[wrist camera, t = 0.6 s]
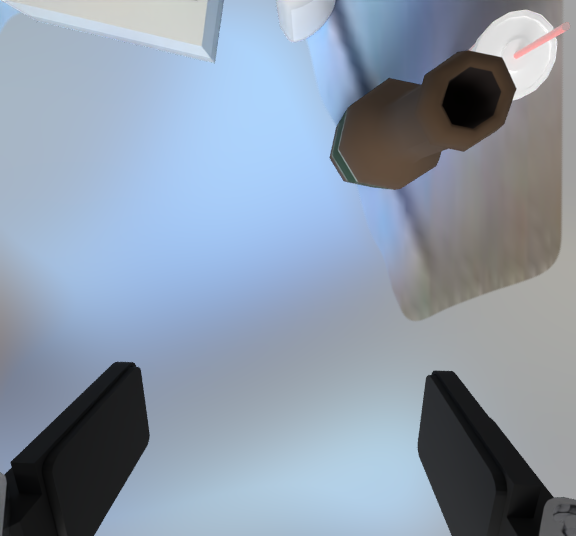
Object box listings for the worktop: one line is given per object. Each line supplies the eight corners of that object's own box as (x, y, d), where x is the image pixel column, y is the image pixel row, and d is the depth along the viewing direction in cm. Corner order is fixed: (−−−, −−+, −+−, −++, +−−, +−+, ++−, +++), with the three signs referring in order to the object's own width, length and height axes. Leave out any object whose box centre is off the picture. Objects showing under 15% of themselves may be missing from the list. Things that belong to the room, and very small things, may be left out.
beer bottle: (356, 96, 34) (464, -78, 11) (414, 140, 35) (629, 63, 12) (313, 161, 36) (330, 128, 13) (370, 201, 37) (480, 237, 14)
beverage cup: (487, 45, 32) (617, -51, 19) (495, 109, 34) (622, 62, 20) (425, 66, 33) (508, -12, 20) (436, 128, 35) (520, 95, 21)
